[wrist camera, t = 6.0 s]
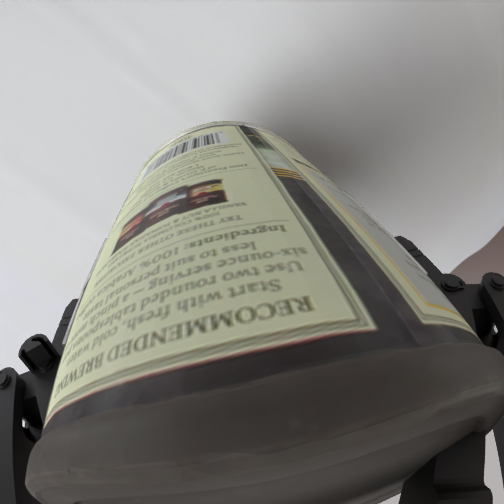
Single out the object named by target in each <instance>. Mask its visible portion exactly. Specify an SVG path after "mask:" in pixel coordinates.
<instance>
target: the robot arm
mask: <svg viewBox="0 0 504 504" xmlns="http://www.w3.org/2000/svg"><path fill="white" fill-rule="evenodd" d="M346 194H347V195H348V196H349V197H350V198H351V199H352V200H353V201H354V202H355V203H357V204H358V205H359V206H360V207H361V208H362V209H363V210H364V211H365V212H366V213H367V214H368V215H369V216H370V217H371V218H372V219H373V220H374V221H375V222H376V223H377V224H378V225H379V226H380V227H381V228H382V229H383V230H384V231H385V232H386V233H387V234H388V235H389V236H390V237H391V238H392V239H393V240H394V241H395V242H396V243H397V244H398V245H399V246H400V247H401V248H402V249H403V250H404V251H405V252H406V253H407V254H408V255H409V256H410V257H411V259H412V260H413V261H414V262H415V263H416V264H417V265H418V266H419V267H420V268H421V269H422V270H423V272H424V273H425V274H426V275H427V276H428V277H429V278H430V279H431V280H432V282H433V283H434V284H435V285H436V286H437V287H438V288H439V290H440V291H441V292H442V293H443V294H444V295H445V296H446V298H447V299H448V300H449V301H450V302H451V304H452V305H453V306H454V307H455V309H456V310H457V311H458V312H459V313H460V315H461V316H462V317H463V318H464V320H465V321H466V322H467V323H468V325H469V326H470V327H471V329H472V330H473V331H474V332H475V334H476V335H477V336H478V338H479V339H480V340H481V342H482V343H483V344H484V345H485V346H488V347H492V348H495V349H497V350H498V351H500V352H501V353H502V355H503V356H504V277H503V276H502V275H500V274H498V273H493V272H490V273H486V274H485V275H484V276H483V278H482V281H481V283H480V284H465V282H464V281H463V280H462V279H461V278H459V277H457V276H455V275H452V274H442V273H441V272H440V270H439V269H438V268H437V267H436V266H435V265H434V264H433V263H432V262H431V261H430V260H429V259H428V258H427V257H426V256H425V255H423V253H422V252H421V251H420V250H418V248H417V247H416V246H415V245H414V244H413V243H412V242H411V241H409V240H407V239H406V238H404V237H402V236H397V237H393V236H392V235H391V234H390V233H389V232H388V231H387V230H386V229H385V228H384V227H383V226H382V225H381V224H380V223H379V222H378V221H377V220H376V219H375V218H374V217H373V216H372V215H371V214H369V213H368V212H367V211H366V210H365V209H364V208H363V207H362V206H361V205H360V204H359V203H358V202H357V201H356V200H355V199H353V198H352V197H351V196H350V195H349V194H348V193H346ZM106 240H107V238H105V240H104V243H103V245H102V247H101V249H100V251H99V253H98V255H97V257H96V260H95V262H94V264H93V266H92V269H91V271H90V273H89V275H88V278H87V280H86V282H85V285H86V283H87V282H88V280H89V278H90V276H91V273H92V271H93V269H94V266H95V264H96V262H97V259H98V257H99V255H100V253H101V251H102V248H103V246H104V244H105V242H106ZM85 285H84V287H85ZM84 287H83V290H84ZM83 290H82V292H81V294H80V297H79V299H73V300H72V301H71V302H70V304H69V305H68V306H67V307H66V309H65V311H64V313H63V316H62V319H61V321H60V323H59V327H58V329H57V331H56V334H55V336H54V339H53V342H52V344H51V342H50V341H49V339H48V338H47V337H46V336H45V335H43V334H36V335H34V336H31V337H30V338H29V339H27V340H26V341H25V342H24V343H23V345H22V346H21V348H20V350H19V356H18V357H19V358H20V359H21V360H22V362H23V363H24V364H25V365H26V366H27V368H28V369H29V370H30V371H28V372H26V373H23V374H20V375H19V374H18V373H17V372H16V371H15V370H14V369H13V368H11V367H8V368H4V369H2V370H1V371H0V504H42V503H41V502H39V501H38V500H37V499H36V498H34V497H33V496H32V495H31V494H30V493H29V491H28V489H27V488H26V485H25V479H26V471H27V465H28V461H29V456H30V453H31V451H32V449H33V447H34V446H35V444H36V442H37V441H39V440H40V439H41V435H42V430H43V426H44V421H45V417H46V413H47V408H48V404H49V399H50V395H51V392H52V388H53V385H54V381H55V377H56V373H57V370H58V366H59V363H60V360H61V357H62V353H63V350H64V346H65V343H66V340H67V336H68V333H69V330H70V327H71V324H72V321H73V318H74V316H75V313H76V310H77V307H78V304H79V302H80V299H81V296H82V294H83ZM495 325H496V328H497V330H498V332H497V333H496V332H495V331H494V326H495ZM22 419H23V420H24V421H25V428H24V427H22ZM493 432H494V436H495V441H496V445H497V451H498V456H499V461H500V467H501V473H502V479H503V485H504V417H503V418H502V419H501V421H500V422H498V424H497V425H496V426H495V427H494V428H493ZM484 464H485V430H484V431H482V432H479V433H478V432H474V431H473V432H470V433H469V434H468V435H466V436H465V437H463V438H462V439H460V440H459V441H457V442H456V443H454V444H453V445H451V446H449V447H448V448H446V449H444V450H443V451H441V452H439V453H437V454H436V455H435V456H434V457H433V458H432V459H431V460H429V461H428V462H427V463H426V464H425V465H424V466H422V467H421V468H420V469H419V470H418V471H416V472H415V473H414V474H413V475H411V476H410V477H409V478H408V479H406V480H405V481H404V482H403V487H402V492H401V496H400V500H399V504H493V496H492V493H491V490H490V489H489V488H488V487H487V486H485V484H484Z"/></svg>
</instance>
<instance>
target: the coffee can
mask: <svg viewBox="0 0 504 504" xmlns="http://www.w3.org/2000/svg"><path fill="white" fill-rule="evenodd" d="M503 417H504V356H503V355H502V353H501V352H500V351H498V350H497V349H495V348H492V347H488V346H485V345H484V344H483V343H482V342H481V340H480V339H479V338H478V336H477V335H476V334H475V332H474V331H473V330H472V329H471V327H470V326H469V325H468V323H467V322H466V321H465V320H464V318H463V317H462V316H461V315H460V313H459V312H458V311H457V310H456V309H455V307H454V306H453V305H452V304H451V302H450V301H449V300H448V299H447V298H446V296H445V295H444V294H443V293H442V292H441V291H440V290H439V288H438V287H437V286H436V285H435V284H434V283H433V282H432V280H431V279H430V278H429V277H428V276H427V275H426V274H425V273H424V272H423V270H422V269H421V268H420V267H419V266H418V265H417V264H416V263H415V262H414V261H413V260H412V259H411V257H410V256H409V255H408V254H407V253H406V252H405V251H404V250H403V249H402V248H401V247H400V246H399V245H398V244H397V243H396V242H395V241H394V240H393V239H392V238H391V237H390V236H389V235H388V234H387V233H386V232H385V231H384V230H383V229H382V228H381V227H380V226H379V225H378V224H377V223H376V222H375V221H374V220H373V219H372V218H371V217H370V216H369V215H368V214H367V213H366V212H365V211H364V210H363V209H362V208H361V207H360V206H359V205H358V204H357V203H355V202H354V201H353V200H352V199H351V198H350V197H349V196H348V195H347V194H346V193H345V192H343V191H342V190H341V189H340V188H339V187H338V186H337V185H336V184H335V183H333V182H332V181H331V180H330V179H329V178H328V177H326V176H325V175H324V174H323V173H322V172H321V171H319V170H318V169H317V168H316V167H315V166H314V165H312V164H311V163H310V162H309V161H308V160H306V159H305V158H304V157H303V156H302V155H301V154H300V153H299V152H298V151H297V150H296V149H295V148H294V147H293V146H292V145H291V144H290V143H289V142H288V141H286V140H285V139H283V138H282V137H280V136H278V135H277V134H276V133H274V132H272V131H269V130H267V129H265V128H263V127H260V126H257V125H253V124H248V123H243V122H234V121H222V122H211V123H207V124H203V125H199V126H196V127H193V128H190V129H188V130H186V131H183V132H181V133H179V134H178V135H176V136H174V137H173V138H171V139H170V140H168V141H167V142H165V143H164V144H163V145H162V146H160V147H159V148H158V149H157V150H156V151H155V152H154V153H153V154H152V155H151V156H150V157H149V159H148V160H147V161H146V162H145V163H144V165H143V167H142V168H141V170H140V172H139V174H138V176H137V178H136V180H135V183H134V185H133V188H132V189H131V191H130V193H129V195H128V197H127V199H126V201H125V203H124V205H123V207H122V209H121V211H120V212H119V215H118V217H117V219H116V221H115V223H114V225H113V227H112V229H111V231H110V233H109V235H108V238H107V240H106V242H105V244H104V246H103V248H102V251H101V253H100V255H99V257H98V259H97V262H96V264H95V266H94V269H93V271H92V273H91V276H90V278H89V280H88V282H87V283H86V285H85V287H84V290H83V294H82V296H81V299H80V302H79V304H78V307H77V310H76V313H75V316H74V318H73V321H72V324H71V327H70V330H69V333H68V336H67V340H66V343H65V346H64V350H63V353H62V357H61V360H60V363H59V366H58V370H57V373H56V377H55V381H54V385H53V388H52V392H51V395H50V399H49V404H48V408H47V413H46V417H45V421H44V426H43V430H42V435H41V439H40V440H39V441H37V442H36V444H35V446H34V447H33V449H32V451H31V453H30V456H29V461H28V465H27V471H26V479H25V485H26V488H27V489H28V491H29V493H30V494H31V495H32V496H33V497H34V498H36V499H37V500H38V501H39V502H41V503H42V504H378V503H381V502H383V501H385V500H387V499H389V498H391V497H393V496H395V495H397V494H400V493H401V492H402V487H403V482H404V481H405V480H406V479H408V478H409V477H410V476H411V475H413V474H414V473H415V472H416V471H418V470H419V469H420V468H421V467H422V466H424V465H425V464H426V463H427V462H428V461H429V460H431V459H432V458H433V457H434V456H435V455H436V454H437V453H439V452H441V451H443V450H444V449H446V448H448V447H449V446H451V445H453V444H454V443H456V442H457V441H459V440H460V439H462V438H463V437H465V436H466V435H468V434H469V433H470V432H473V431H474V432H478V433H479V432H482V431H484V430H485V436H486V435H487V434H488V433H489V432H490V431H491V430H492V429H493V428H494V427H495V426H496V425H497V424H498V422H500V421H501V419H502V418H503Z"/></svg>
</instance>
